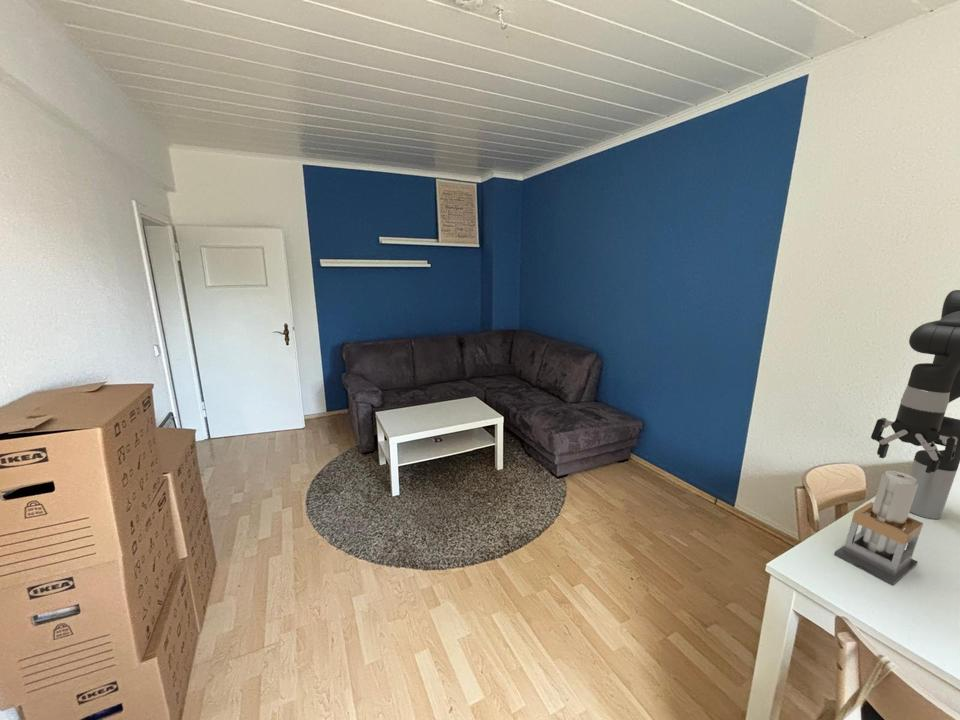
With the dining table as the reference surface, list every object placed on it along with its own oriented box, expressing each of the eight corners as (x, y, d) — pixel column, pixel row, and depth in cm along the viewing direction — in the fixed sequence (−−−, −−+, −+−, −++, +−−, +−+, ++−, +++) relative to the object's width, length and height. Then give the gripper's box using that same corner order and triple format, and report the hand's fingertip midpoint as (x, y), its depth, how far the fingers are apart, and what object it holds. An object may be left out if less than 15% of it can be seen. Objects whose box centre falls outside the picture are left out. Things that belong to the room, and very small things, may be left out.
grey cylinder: (899, 566, 103) (927, 483, 97) (871, 562, 104) (896, 480, 98) (880, 549, 109) (905, 470, 103) (853, 546, 111) (876, 467, 104)
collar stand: (859, 537, 116) (871, 497, 112) (916, 564, 105) (931, 521, 102) (834, 554, 109) (845, 512, 105) (892, 585, 98) (908, 540, 95)
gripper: (972, 413, 91) (950, 474, 95) (889, 395, 104) (873, 450, 108) (961, 418, 88) (940, 481, 92) (877, 399, 100) (861, 455, 104)
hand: (904, 464), depth 100 cm, fingers open, 8 cm apart
